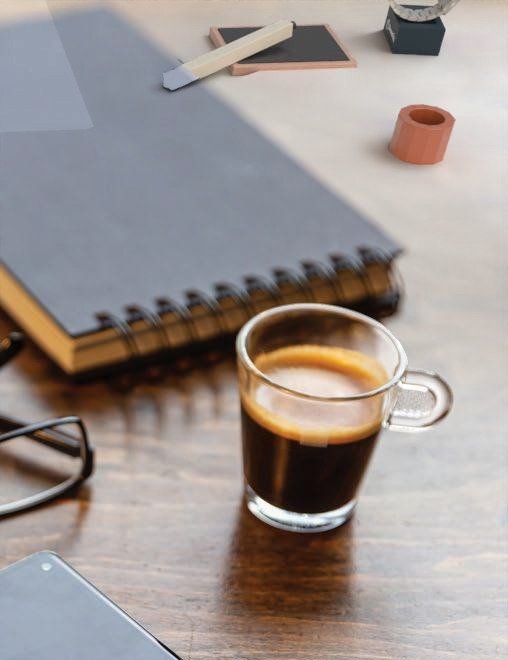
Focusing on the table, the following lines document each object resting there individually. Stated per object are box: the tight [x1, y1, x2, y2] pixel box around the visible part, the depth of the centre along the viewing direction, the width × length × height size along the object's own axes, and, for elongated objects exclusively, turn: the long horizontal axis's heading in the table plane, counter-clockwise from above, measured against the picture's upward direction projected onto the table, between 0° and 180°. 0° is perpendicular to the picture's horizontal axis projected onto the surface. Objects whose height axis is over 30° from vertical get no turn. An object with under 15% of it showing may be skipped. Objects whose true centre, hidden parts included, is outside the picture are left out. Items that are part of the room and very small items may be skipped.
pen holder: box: [388, 103, 456, 166], centre depth 110 cm, size 4×4×5 cm
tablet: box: [208, 23, 358, 76], centre depth 128 cm, size 12×9×1 cm
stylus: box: [181, 18, 297, 80], centre depth 125 cm, size 1×1×16 cm
